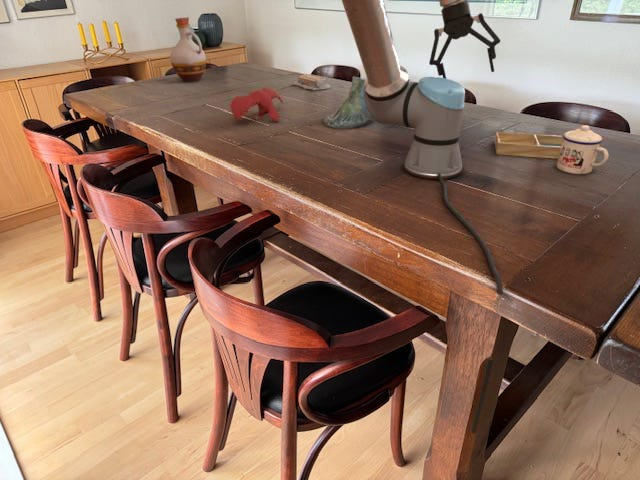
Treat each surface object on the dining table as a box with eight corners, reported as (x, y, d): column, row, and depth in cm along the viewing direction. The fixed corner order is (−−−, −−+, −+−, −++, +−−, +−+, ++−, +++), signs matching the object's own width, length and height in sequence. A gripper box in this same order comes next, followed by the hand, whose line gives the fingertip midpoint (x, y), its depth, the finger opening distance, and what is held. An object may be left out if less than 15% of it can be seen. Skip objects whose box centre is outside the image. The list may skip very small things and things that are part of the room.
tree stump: (314, 119, 171) (323, 69, 164) (360, 126, 179) (371, 79, 172) (333, 130, 155) (344, 75, 149) (382, 136, 163) (395, 85, 157)
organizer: (578, 160, 128) (581, 148, 126) (496, 154, 133) (498, 143, 132) (570, 147, 137) (573, 136, 136) (494, 142, 143) (496, 131, 141)
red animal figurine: (289, 122, 182) (266, 91, 181) (302, 108, 175) (279, 76, 174) (244, 142, 161) (218, 107, 160) (258, 127, 155) (231, 91, 154)
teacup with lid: (548, 167, 124) (558, 125, 118) (567, 160, 128) (578, 119, 122) (591, 181, 115) (605, 136, 109) (610, 173, 119) (624, 129, 113)
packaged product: (330, 78, 213) (313, 80, 208) (330, 88, 215) (313, 91, 211) (309, 72, 226) (292, 74, 221) (310, 82, 228) (293, 85, 223)
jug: (218, 79, 239) (210, 16, 224) (193, 85, 226) (183, 19, 211) (192, 76, 249) (182, 15, 233) (166, 82, 236) (155, 18, 220)
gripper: (499, -14, 126) (511, 62, 135) (411, 18, 136) (428, 88, 144) (501, -14, 120) (514, 67, 129) (409, 20, 130) (427, 93, 138)
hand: (469, 78), depth 137 cm, fingers open, 13 cm apart
